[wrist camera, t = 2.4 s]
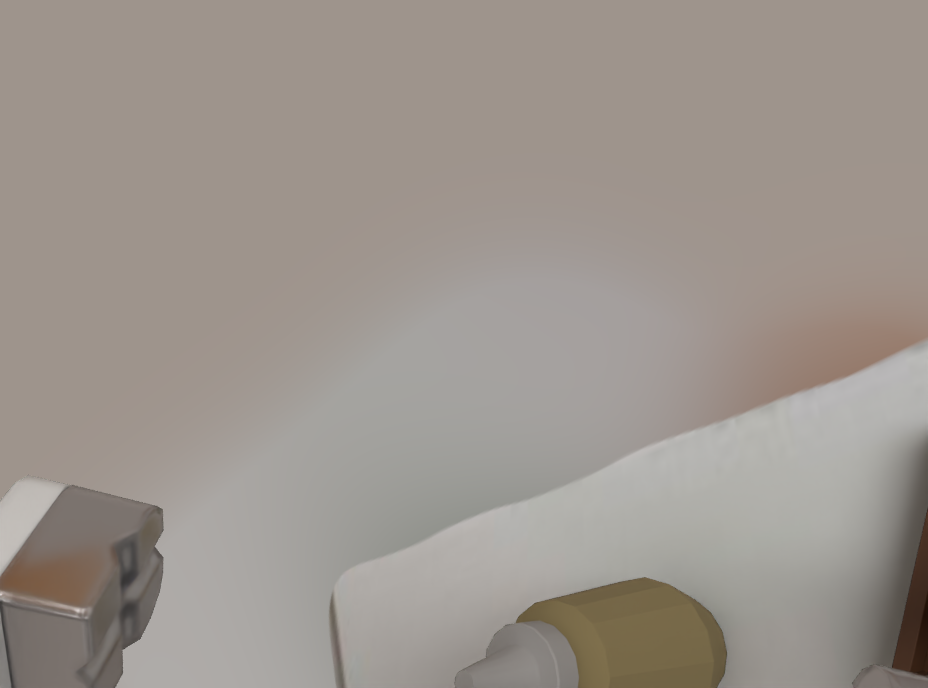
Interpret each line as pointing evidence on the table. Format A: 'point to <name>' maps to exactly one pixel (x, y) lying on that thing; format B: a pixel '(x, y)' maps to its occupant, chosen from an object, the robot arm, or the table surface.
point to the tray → (915, 616)
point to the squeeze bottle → (606, 642)
